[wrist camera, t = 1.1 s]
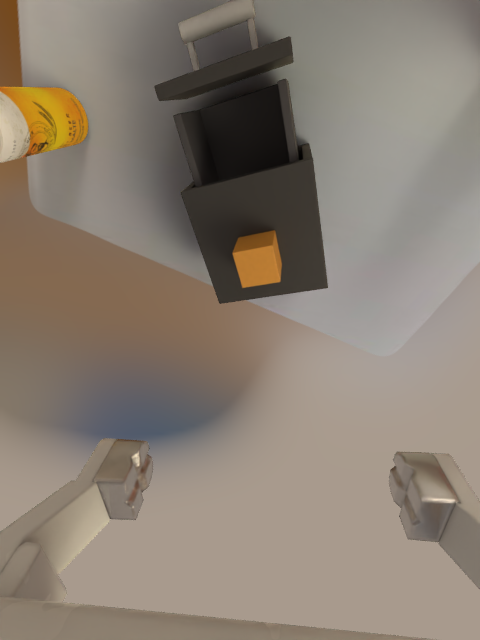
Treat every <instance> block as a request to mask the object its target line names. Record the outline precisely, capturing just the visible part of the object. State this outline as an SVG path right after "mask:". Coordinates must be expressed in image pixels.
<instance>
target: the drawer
mask: <svg viewBox="0 0 480 640" xmlns="http://www.w3.org/2000/svg"><path fill="white" fill-rule="evenodd" d="M253 18H255V8H254V2H253V0H232V1H230V2H227V3H225V4H223V5H220V6H218V7H215V8H213V9H211V10H208V11H206V12H203V13H201V14H199V15H196V16H194V17H191V18H189V19H187V20H184V21H182V22H180V23H179V31H180V35H181V37H182V40H183V42H184V44H187V48H188V51H189V55H190V59H191V62H192V66H193V70H194V71H193V72H191V73H188V74H185V75H183V76H180V77H177V78H174V79H172V80H169V81H166V82H163V83H161V84H158V85H155V86H154V87H155V90H156V93H157V96H158V99H159V101H167V100H182V99H188V98H191V97H194V96H197V95H200V94H203V93H206V92H209V91H211V90H214V89H217V88H220V87H223V86H226V85H229V84H232V83H235V82H238V81H241V80H244V79H247V78H249V77H252V76H255V75H258V74H261V73H264V72H267V71H270V70H273V69H276V68H279V67H282V66H284V65H287V64H290V63H293V53H292V45H291V37H286V38H284V39H281V40H278V41H275V42H273V43H270V44H267V45H265V46H262V47H259V46H258V41H257V35H256V29H255V23H254V19H253ZM244 21H247V25H248V30H249V36H250V41H251V46H252V50H251V51H248V52H245V53H243V54H240V55H237V56H234V57H232V58H229V59H226V60H224V61H221V62H218V63H215V64H213V65H210V66H207V67H204V68H202V69H200V65H199V61H198V58H197V54H196V50H195V46H194V43H193V42H194V41H196V40H199V39H201V38H204V37H206V36H209V35H211V34H214V33H217V32H219V31H222V30H224V29H227V28H229V27H232V26H234V25H237V24H239V23H242V22H244ZM277 83H278V84H276V85H273V86H270V87H267V88H264V89H261V90H258V91H255V92H252V93H249V94H246V95H243V96H240V97H237V98H234V99H231V100H228V101H225V102H222V103H219V104H216V105H213V106H210V107H206V108H203V109H200V110H196V111H191V112H185V113H180V114H177V115H174V116H173V117H174V120H175V123H176V127H177V130H178V133H179V136H180V139H181V142H182V145H183V148H184V152H185V155H186V158H187V161H188V164H189V167H190V170H191V173H192V177H193V180H194V183H195V186H196V187H198V186H202V185H206V184H209V183H213V182H217V181H221V180H225V179H229V178H233V177H236V176H240V175H244V174H248V173H252V172H256V171H260V170H264V169H267V168H271V167H275V166H279V165H283V164H287V163H291V162H295V161H298V160H299V154H298V147H297V140H296V133H295V126H294V119H293V112H292V104H291V97H290V90H289V83H288V81H287V79H283V80H280V81H278V82H277Z"/></svg>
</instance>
